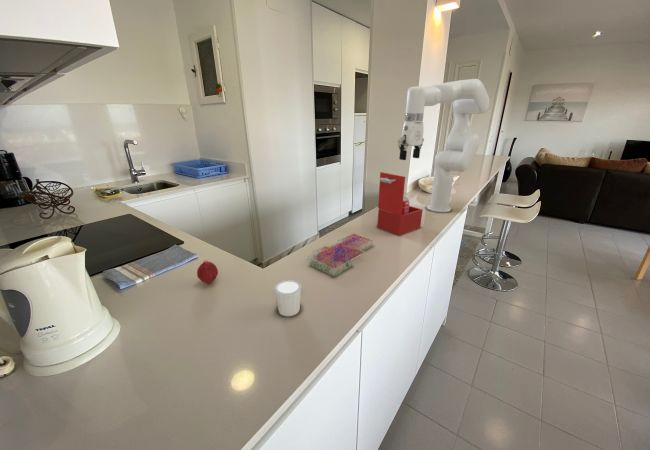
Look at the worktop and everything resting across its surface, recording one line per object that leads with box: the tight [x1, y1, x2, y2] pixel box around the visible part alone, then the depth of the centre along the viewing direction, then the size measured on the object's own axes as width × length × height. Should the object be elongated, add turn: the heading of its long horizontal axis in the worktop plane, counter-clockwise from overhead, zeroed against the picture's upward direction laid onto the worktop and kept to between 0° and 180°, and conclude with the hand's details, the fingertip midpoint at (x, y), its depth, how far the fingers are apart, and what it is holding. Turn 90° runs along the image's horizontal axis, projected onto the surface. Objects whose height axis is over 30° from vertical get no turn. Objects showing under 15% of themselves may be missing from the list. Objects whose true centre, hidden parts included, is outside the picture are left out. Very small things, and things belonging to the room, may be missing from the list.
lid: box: [377, 171, 406, 216], centre depth 117 cm, size 16×13×5 cm
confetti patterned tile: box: [305, 232, 373, 277], centre depth 102 cm, size 30×15×5 cm, turn 137°
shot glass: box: [274, 279, 302, 317], centre depth 72 cm, size 7×7×7 cm
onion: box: [196, 259, 219, 284], centre depth 84 cm, size 6×6×8 cm
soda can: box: [402, 196, 410, 215], centre depth 126 cm, size 7×7×13 cm
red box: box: [376, 205, 423, 236], centre depth 127 cm, size 16×13×9 cm
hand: (409, 158), depth 125 cm, fingers open, 9 cm apart
